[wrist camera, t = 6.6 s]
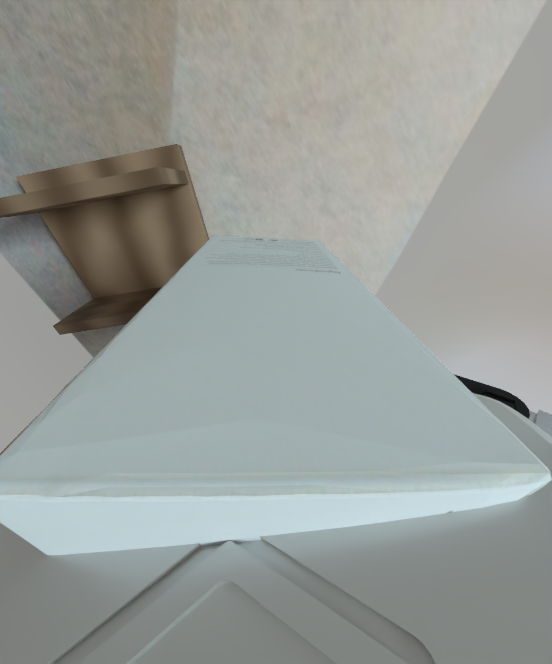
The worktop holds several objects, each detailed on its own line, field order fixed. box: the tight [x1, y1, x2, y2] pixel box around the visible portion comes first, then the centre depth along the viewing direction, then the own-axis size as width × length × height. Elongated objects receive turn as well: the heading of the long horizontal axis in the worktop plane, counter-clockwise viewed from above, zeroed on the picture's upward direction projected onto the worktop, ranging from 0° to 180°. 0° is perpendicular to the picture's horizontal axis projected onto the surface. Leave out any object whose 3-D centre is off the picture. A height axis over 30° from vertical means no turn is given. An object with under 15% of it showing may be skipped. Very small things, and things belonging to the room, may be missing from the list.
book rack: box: [0, 144, 209, 335], centre depth 27 cm, size 18×18×9 cm
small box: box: [0, 235, 552, 555], centre depth 10 cm, size 8×6×13 cm
